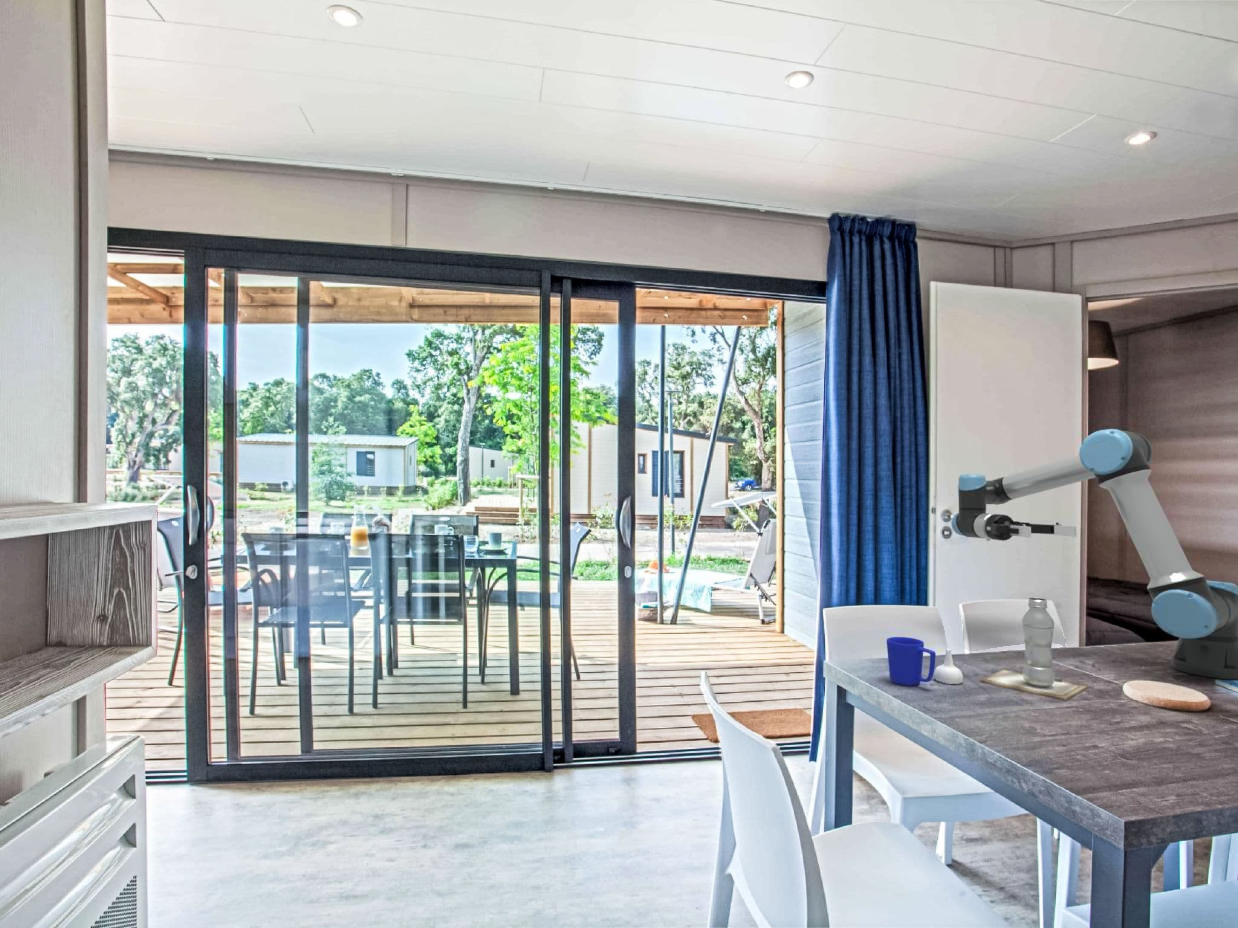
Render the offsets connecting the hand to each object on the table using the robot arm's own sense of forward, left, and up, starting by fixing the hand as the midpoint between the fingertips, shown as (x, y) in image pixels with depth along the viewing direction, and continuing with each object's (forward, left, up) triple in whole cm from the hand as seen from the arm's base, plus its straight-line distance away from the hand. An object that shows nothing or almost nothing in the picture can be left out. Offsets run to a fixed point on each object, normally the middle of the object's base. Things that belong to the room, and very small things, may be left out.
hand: (1052, 531), depth 179 cm
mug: (+15, +46, -35) cm, 60 cm away
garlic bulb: (+11, +36, -35) cm, 52 cm away
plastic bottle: (-5, +26, -34) cm, 43 cm away
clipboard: (-3, +24, -35) cm, 43 cm away
